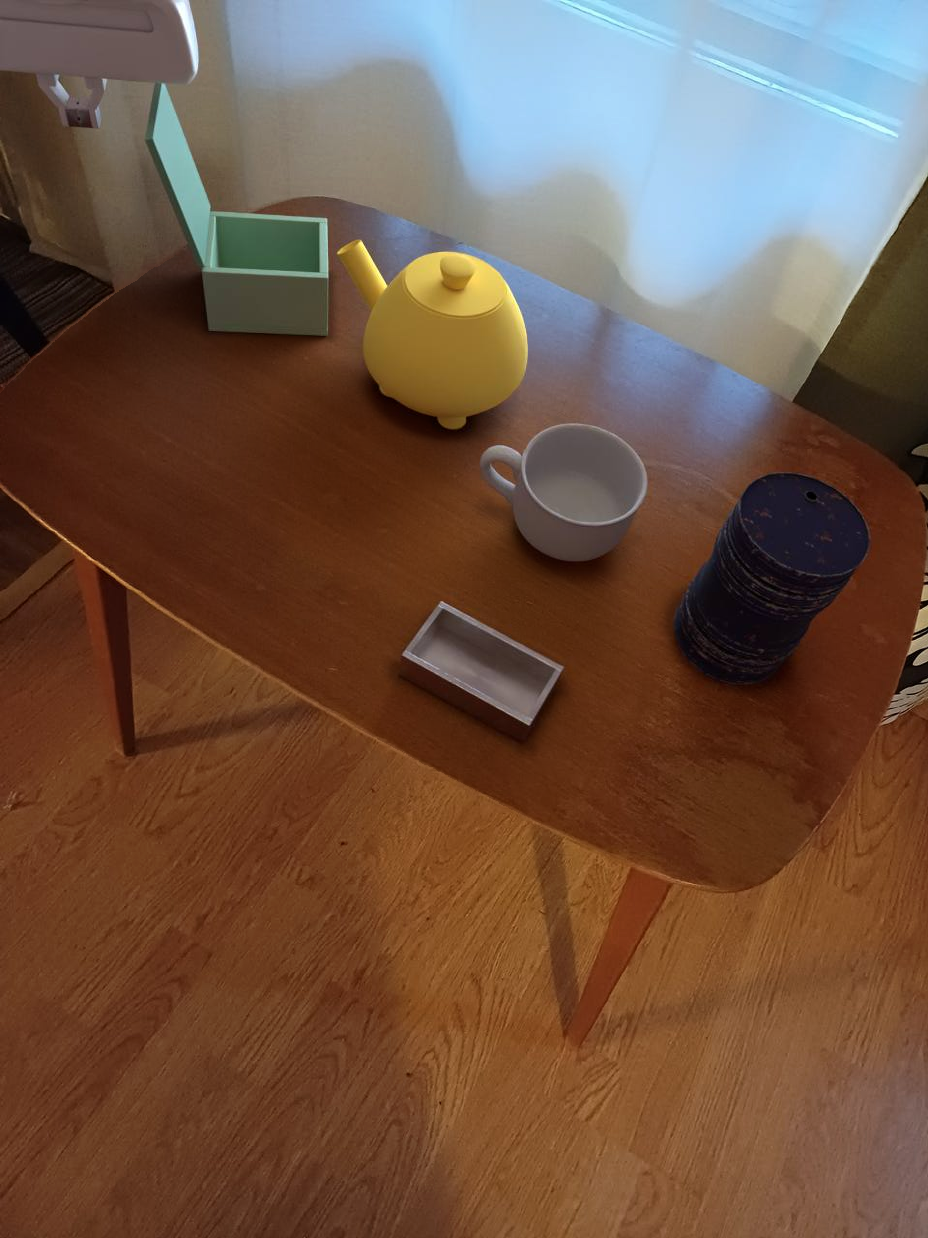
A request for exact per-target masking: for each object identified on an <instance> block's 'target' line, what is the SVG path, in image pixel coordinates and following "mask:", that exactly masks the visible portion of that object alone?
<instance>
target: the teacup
mask: <svg viewBox="0 0 928 1238" xmlns="http://www.w3.org/2000/svg"><path fill="white" fill-rule="evenodd" d="M495 462H500V463H504V464H505V465H508V467H510V468H511V470H512V476H513V478H514V480H515V484H514V483H512V482H510V481H508V480H507V479H505V478H504V477H503V476H502V475H501V474H500V473H498V472H497V471H496V470H495V468H494V467H493V466H492V464H493V463H495ZM478 465H479V467H478V469H479V473H480V476H481V477H482V479H483V481H484V482H485V483H486V484H487V485H488V486H489V487H490V488H491V489H492V490H494V491H495V492H496V493H498V494H499V495H501V496H503V497H504V499H505V502H507V503H508V504H509V505H510V506H512V510H513V517H514V522H515V524H516V527H517V529H518V530H519V532H520V533H521V535H522V536H523V538H524V539H525V540H526V541H527V542H528V543H529V544H530V545H531V546H532V547H533V548H535V549H536V550H538V551H539V552H541V554H545V555H546V556H549V557H551V558H553V559H556V560H560V561H565V562H586V561H591V560H595V559H597V558H599V557H602V556H604V555H605V554H608V552H610V551H611V550H613V549H614V548H615V547H616V546H617V545H618V544H619V543H620V542H621V540H622V539H623V537H624V536H625V534H626V533H627V531H628V529H629V527H630V526H631V524H632V523H633V520H634V519H635V516H636V514H637V512H638V510H639V509H640V507H641V506H642V505H643V502H644V500H645V499H646V495H647V494H648V493H647V492H648V485H649V484H648V483H649V481H648V474H647V471H646V467H645V465H644V463H643V461H642V459H641V458H640V456H639V455H638V453H637V452H636V451H635V450H634V449H633V447H631V445H629V444H628V443H627V442H626V441H625V440H623V439H622V438H621V437H619V436H617V435H616V434H614V433H613V432H610V431H609V430H606V429H604V428H601V427H598V426H593V425H590V424H583V423H561V424H558V425H554V426H551V427H548V428H546V429H543V430H542V431H540V432H538V433H537V434H536V435H535V436H534V437H533V438H532V439H531V440H530V441H529V442H528V444H527V445H526V447H525V449H524V450H523V453H522V455H521V454H520V453H519V452H518V451H517V450H515V449H514V448H511V447H509V446H506V445H502V444H501V445H500V444H499V445H493V446H490V447H488V448H487V449H486V450H485V451H484V452H483V454H481V457H480V459H479V463H478Z"/></svg>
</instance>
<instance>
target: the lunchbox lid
mask: <svg viewBox="0 0 928 1238" xmlns="http://www.w3.org/2000/svg"><path fill="white" fill-rule="evenodd" d="M152 90H153V91H152V96H151V101H150V102H151V103H150V108H149V113H148V119H147V124H146V131H145V136H144V141H145V144H146V146H147V149H148V152H149V153H150V157H151V158H152V161H153V163H154V166H155V168H156V171H157V173H158V177H159V178H160V180H161V183H162V186H163V188H164V190H165V192H166V195H167V197H168V200H169V202H170V205H171V207H172V210H173V212H174V215H175V217H176V219H177V221H178V224H179V227H180V228H181V232H182V234H183V236H184V239H185V242H186V243H187V246H188V248H189V251H190V254H191V255H192V258H193V260H194V263H195V266H196V268H197V269H198V268H202V267H205V258H206V248H207V237H208V227H209V217H210V211H211V203H210V201H209V198H208V195H207V192H206V190H205V188H204V185H203V182H202V179H201V177H200V174H199V172H198V168H197V166H196V163H195V161H194V158H193V155H192V153H191V150H190V148H189V144H188V141H187V139H186V137H185V134H184V131H183V128H182V126H181V122H180V121H179V118H178V115H177V112H176V110H175V107H174V105H173V102H172V99H171V96H170V94H169V91H168V89H167V86H166V84H162V83H153V89H152Z"/></svg>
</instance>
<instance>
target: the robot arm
mask: <svg viewBox="0 0 928 1238" xmlns="http://www.w3.org/2000/svg"><path fill="white" fill-rule="evenodd" d="M198 45H199V44H198V40H197V31H196V27H195V21H194V16H193V13H192V8H191V4H190V0H0V71H3V72H16V73H28V74H35V77H36V80H37V85H38V87H39V88H40V90H41V91H42V92H43V93H44V94H45V95H46V96H47V98H48V99H49V100H50V101H51V102H52V103H53V104H54V106H55V107H56V108H57V109H58V113H59V116H60V121H61V125H62V126H63V127H65V128H66V127H67V128H68V127H69V128H83V129H98V130H100V128H101V124H102V115H101V109H100V102H101V100H102V98H103V96H104V93H105V91H106V86H107V82H108V80H112V81H113V80H114V81H127V82H139V83H151V84H155V83H162V84H165V85H176V86H188V85H190V84H191V83H192V81H193V80H194V79H195V77H196V76H197V74H198V70H199V61H200V60H199V59H200V58H199V46H198ZM60 76H65V77H76V78H84V82H85V87H86V89H87V90H91V92H90V95H89V97H78V96H70V95H69V93H68V92H67V91H66V90H65V88H64V87H63V85H62V84H61V82H60V81H59V77H60Z"/></svg>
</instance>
